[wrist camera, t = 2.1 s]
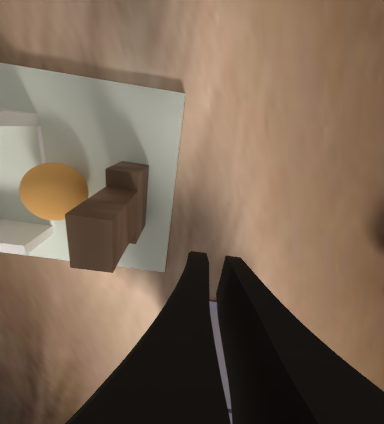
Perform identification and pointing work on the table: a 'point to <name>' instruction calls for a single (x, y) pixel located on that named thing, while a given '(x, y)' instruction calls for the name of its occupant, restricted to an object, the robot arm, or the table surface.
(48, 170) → the ball
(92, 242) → the notched wooden post
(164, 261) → the board
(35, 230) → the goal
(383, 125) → the table surface
